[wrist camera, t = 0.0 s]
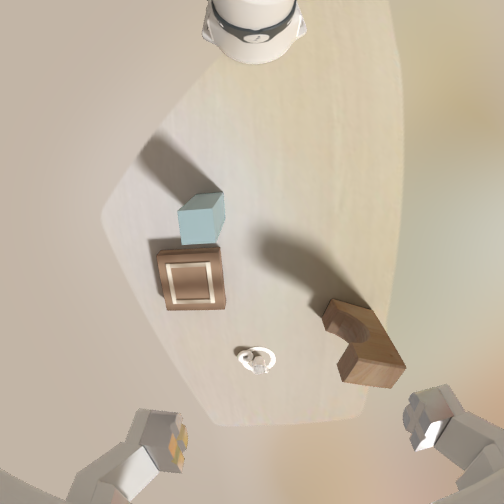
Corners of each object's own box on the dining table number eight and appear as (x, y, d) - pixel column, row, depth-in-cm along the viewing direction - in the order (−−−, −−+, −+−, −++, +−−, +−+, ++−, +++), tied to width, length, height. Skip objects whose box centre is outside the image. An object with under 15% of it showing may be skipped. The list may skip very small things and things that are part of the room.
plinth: (160, 250, 58) (155, 256, 55) (220, 247, 58) (218, 253, 55) (170, 303, 62) (166, 311, 59) (226, 301, 62) (224, 310, 59)
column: (196, 194, 54) (177, 211, 41) (223, 192, 54) (212, 208, 41) (199, 220, 56) (181, 244, 43) (225, 218, 56) (215, 242, 43)
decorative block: (320, 318, 63) (340, 382, 44) (331, 296, 61) (357, 357, 43) (361, 330, 64) (390, 390, 46) (373, 310, 62) (408, 367, 44)
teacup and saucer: (232, 352, 67) (231, 364, 64) (260, 337, 66) (261, 348, 62) (254, 374, 70) (254, 386, 66) (281, 361, 68) (283, 372, 64)
